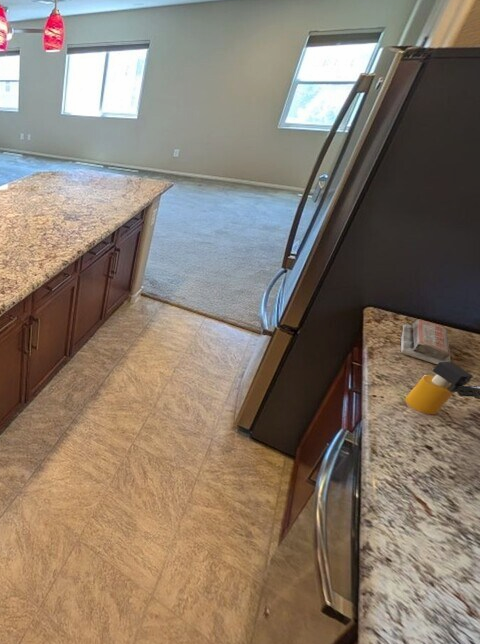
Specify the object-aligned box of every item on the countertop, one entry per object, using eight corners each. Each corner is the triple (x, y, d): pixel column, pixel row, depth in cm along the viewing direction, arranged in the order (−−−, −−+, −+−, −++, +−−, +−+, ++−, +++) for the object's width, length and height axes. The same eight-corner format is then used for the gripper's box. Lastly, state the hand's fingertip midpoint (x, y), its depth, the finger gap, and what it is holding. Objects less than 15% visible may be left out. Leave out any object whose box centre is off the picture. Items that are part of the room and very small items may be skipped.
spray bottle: (398, 397, 101) (429, 359, 94) (419, 396, 101) (451, 358, 94) (424, 417, 95) (459, 378, 88) (446, 416, 95) (482, 377, 88)
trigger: (446, 389, 92) (451, 383, 91) (454, 388, 92) (459, 382, 91) (450, 392, 91) (455, 386, 90) (458, 391, 91) (464, 385, 90)
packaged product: (409, 314, 123) (455, 327, 117) (401, 326, 125) (446, 340, 119) (408, 341, 112) (459, 357, 106) (399, 353, 114) (448, 370, 108)
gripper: (596, 373, 75) (480, 373, 92) (532, 376, 74) (427, 376, 91) (615, 413, 73) (493, 406, 90) (548, 417, 73) (438, 409, 89)
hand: (460, 391), depth 90 cm, fingers closed
